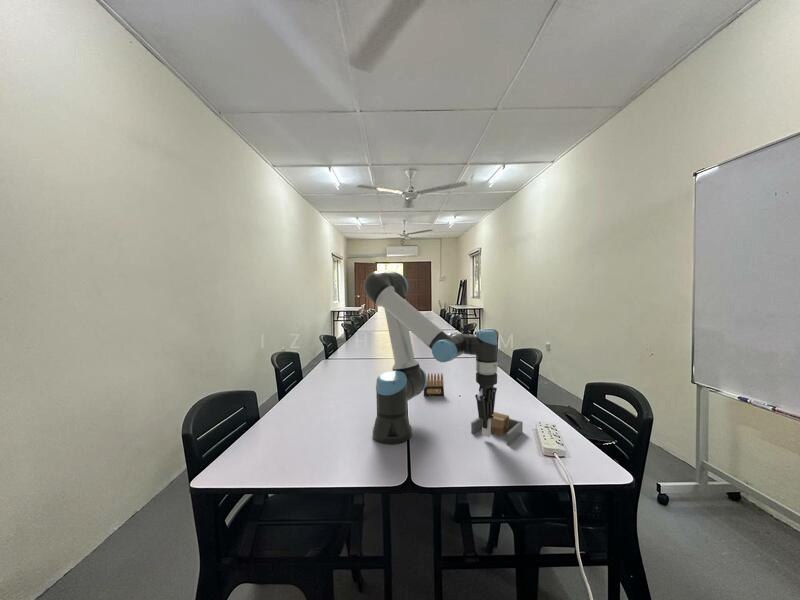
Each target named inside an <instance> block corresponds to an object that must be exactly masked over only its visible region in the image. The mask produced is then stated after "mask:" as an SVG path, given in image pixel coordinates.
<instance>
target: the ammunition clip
mask: <svg viewBox="0 0 800 600" xmlns="http://www.w3.org/2000/svg"><path fill="white" fill-rule="evenodd" d="M433 375H434V376H433ZM426 377H427V383H426V387H425V388H424V390H423V397H444V396H445V389H444V387H445V386H444V375H443V373H442V372H441V374H440V373H434V374H433V373H430V374H429V373H427V375H426Z"/></svg>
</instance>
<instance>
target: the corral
mask: <svg viewBox="0 0 800 600" xmlns="http://www.w3.org/2000/svg"><path fill="white" fill-rule="evenodd" d="M523 425H524V424H523V421H521V420H518V419H514V418H510V417H509V431H508V432H507V433H506V434H505V435H506V445H508V446H510V445H511V444H512V443H513V442H514V441H516V439H517V438H518V437H519V436H520V435H522V433H523V427H524V426H523ZM470 426H471V427H470V428H471V429H470V430H471V431H470V433H472V434H475V433H476V432H477V431H479V430H480V429H482V419H480V418H479V416H478V417H477V418H475V419H474V420H473V421H471V423H470Z"/></svg>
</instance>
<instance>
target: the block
mask: <svg viewBox="0 0 800 600" xmlns="http://www.w3.org/2000/svg"><path fill="white" fill-rule="evenodd" d="M492 416H494V417H493V418H490V419H491V434H495V435H499V436H502V437H504V436H505V435H507V434H506V433H507V432H508V431H510V429H509V418H510V415H509V414H504V413H500V412H497V411H494V414H492Z"/></svg>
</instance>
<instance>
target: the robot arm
mask: <svg viewBox="0 0 800 600" xmlns="http://www.w3.org/2000/svg"><path fill="white" fill-rule="evenodd" d="M363 290H364V292H365V295H366V296H367V298H369V299H370V300H371V302H372V303H373V304H375V306H377V307H379V308H380V307H382V308H383V309H384V312H385V318H386V324H387V329H388V335H389V339H390V340H389V341H390V345H391V351H392V355H393V360H394V364H393V366H392V368H391V369H392V370H390V371H385V372H382V373H381V374H380V375H378V376H377V378H376V384H375V391H376V392H375V394H376V395H375V396H376V416H375V421H374V424H373V427H372V438H373V440H375V441H376V442H378V443H380V444H385V445H397V444H402V443H405V442H407V441H409V440H410V439H411V438H412V435H413V432H412V431H413V429H412V426H411V424H410V420H409V416H408V404H407V403H408V401H410V400H411V399H413V398H415V397H417V396H418V395H420V394H421V393H422V392H424V388H425V387H426V383H427V374H426V372H425V370H423V369H422V367H420V362H419V361H418V360H416V359H415V355H414V354H415V353H414V351H413V350H414V349H413V345H412V340H411V339H412V338H411V334H410V332H411V333H412V334H413V335H415V336H416V338H418V339H419V341H422V343H424V344H425V345H426V346H427V347H428V348H429V349H430V350H431V354H432V356H433V358H434V359H435V360H436V361H437V362H440V363H447V362H451V361H453V360H454V359H456V358H458V357H459V356H460V357H461V355H471V356H475V371H476V372H475V382H476V383H477V384H478V385H479V386H478V387H479V388H478V392H479V393H477V394H475V399H476V405H477V406H476V407H477V412H478V413H477V414H478V415H477V416H478V417H479V418H480V419H482V427H481V436H483V437H487V438H490V437H491V435H492V433H491V419H490V418H493V417H494V416H492V414H494V412H495V406H496V405H495V403H496V394H497V390H498V389H497V387H495V385H497V383H498V373H497V372H498V368H499V365H498V334H497V331H496V330H494V329H477V330H476V331H475V334H469V333H467V334H466V333H459V332H458V333H457V332H447V333H445V332H444V331H443V330H442V329H441V328H440V327H438V326H437V325H436V324H435V323H433V322H432V321H431V319H429V318H427V316H425V315H424V314H422V312H420V311H419V310H418V309H416V308H415V307H414V306H413V305H412V304H410V303H409V301H407V296H406V295H407V293H408V291H409V283H408V280H407V278H406V277H405V276H404V275H402V274H401V273H399V272H395V271H381V270H377V271H373V272H371V273H369V274H368V275H367V276H366V278H365V279H364V283H363Z"/></svg>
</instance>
